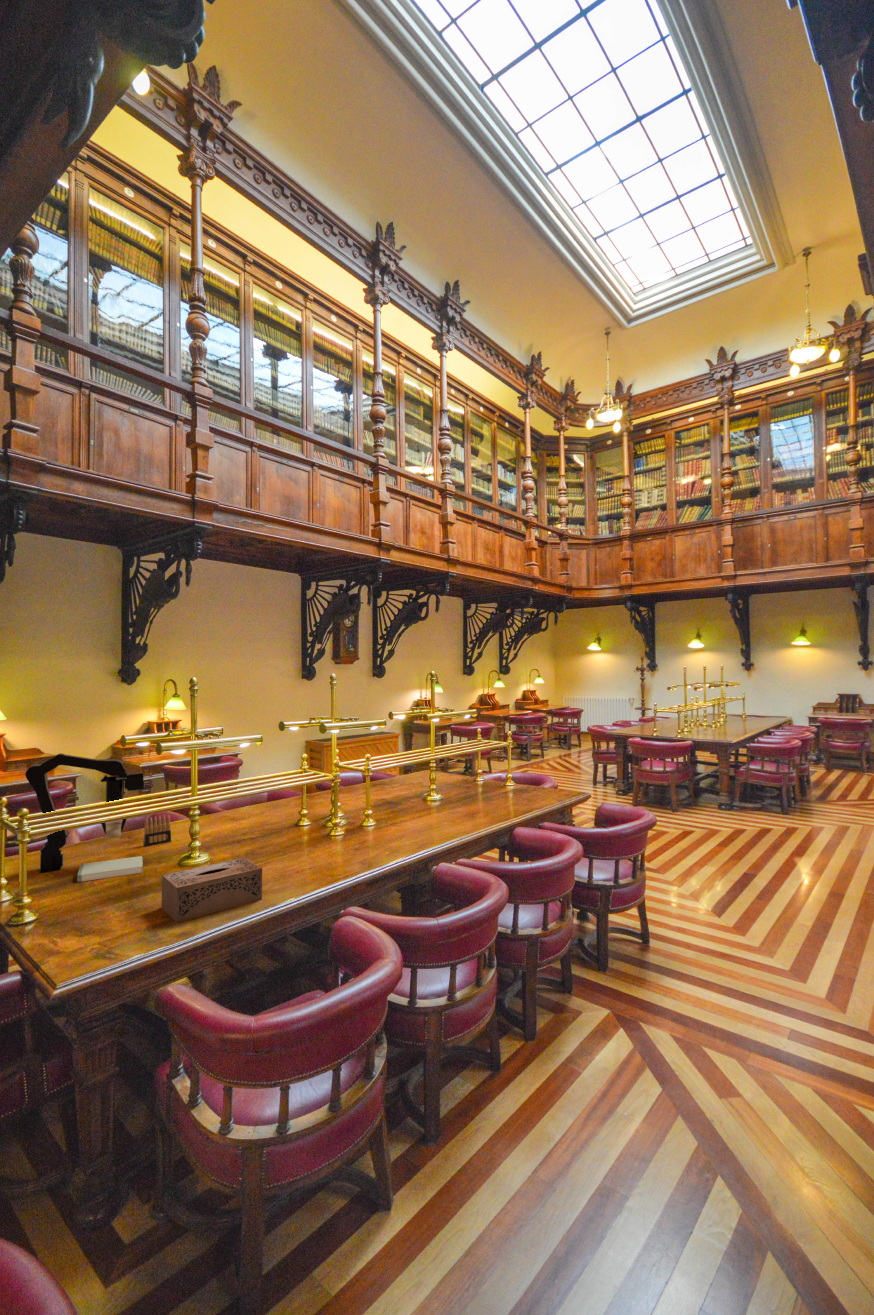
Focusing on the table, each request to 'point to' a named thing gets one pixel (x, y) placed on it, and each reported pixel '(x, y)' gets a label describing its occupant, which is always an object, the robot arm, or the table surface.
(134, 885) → the table surface
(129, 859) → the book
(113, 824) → the maple block
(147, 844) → the ammunition clip
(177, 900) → the tissue box cover
